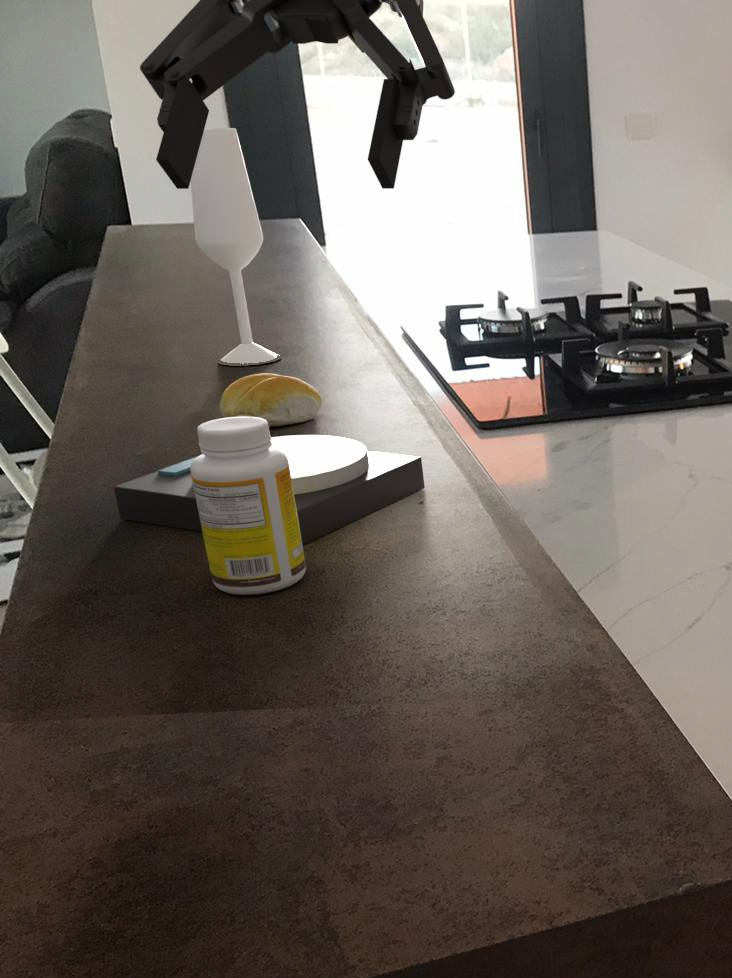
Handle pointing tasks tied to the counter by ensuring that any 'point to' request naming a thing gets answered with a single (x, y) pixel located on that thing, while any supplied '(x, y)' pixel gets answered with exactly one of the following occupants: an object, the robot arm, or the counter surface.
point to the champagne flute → (228, 224)
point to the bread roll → (271, 399)
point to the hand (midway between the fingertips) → (276, 174)
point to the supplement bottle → (246, 507)
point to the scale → (315, 479)
